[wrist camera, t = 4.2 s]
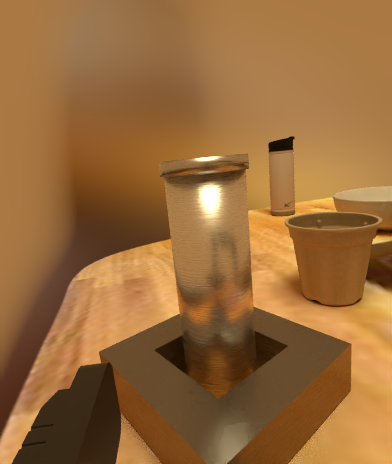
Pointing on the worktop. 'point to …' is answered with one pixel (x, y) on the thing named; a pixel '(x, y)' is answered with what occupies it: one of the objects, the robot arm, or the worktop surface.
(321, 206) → the worktop surface
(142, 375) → the bore block
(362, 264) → the flower pot
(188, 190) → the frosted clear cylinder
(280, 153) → the travel mug
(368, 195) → the serving bowl
